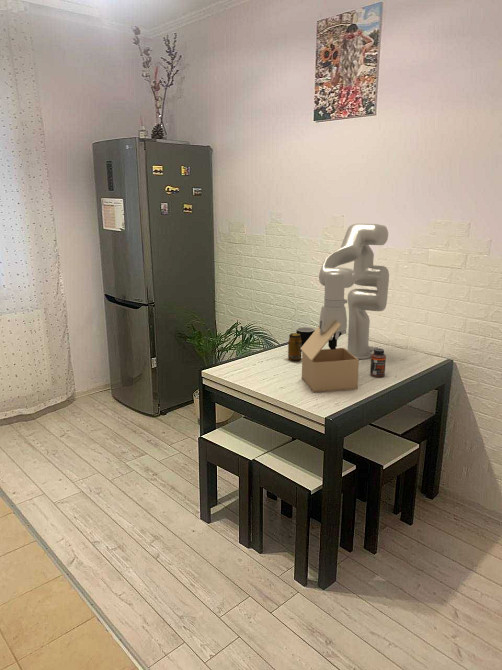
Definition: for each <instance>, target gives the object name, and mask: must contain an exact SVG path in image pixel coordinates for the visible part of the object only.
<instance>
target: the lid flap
mask: <svg viewBox="0 0 502 670" xmlns="http://www.w3.org/2000/svg"><path fill="white" fill-rule="evenodd" d="M340 326H341V324H340V323H338V322H337V321H336V322H335V323H334V324H333V325H332V326H331V327H330V329H329V330H328V331H327V332H326V333H325V332H324V333H323V334H322V335H320V329H319V325H318V326H317V327H316V328H315V331H314V332H313V334H312V335H311V336H310V337H309V339H308V340H307V341H306V342H305V343H304V345H303V346H302V347H301V348H300V349H301V350H302V351H303V352H304V353H305V354H306V355H307V356H308V357H309V358H310V359H311V360H313V359H314V358H315V357H316V355H317V354H318V353H319V352H320V350H321V349H324V348H325V346H326V344H327V343H328V341H329V340H330V338H331V337H332V338H333V335H334V334H335V332H336V331H337V330H338V329H339V327H340ZM302 351H301V352H302Z"/></svg>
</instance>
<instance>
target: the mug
mask: <svg viewBox="0 0 502 670" xmlns="http://www.w3.org/2000/svg"><path fill="white" fill-rule="evenodd" d="M315 330H316V328H313V327H309V326H300V327H297V328H296V331H295V333H298V334H300V335H301V341H302V346H303V345H304V343H305V342H306V341H307V340H308V339H309V337H310V336H311V335H312V334H313V332H314V331H315ZM302 346H301V347H302ZM301 352H302V350H301Z"/></svg>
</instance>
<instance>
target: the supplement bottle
mask: <svg viewBox="0 0 502 670" xmlns="http://www.w3.org/2000/svg"><path fill="white" fill-rule="evenodd" d="M386 360H387V356H386V354H385V349H384V348H379V347H378V348H376V349H374V351H373V352H372V353H371V357H370V371H369V373H370V376H372V377H375V378H382V377H384V376H385V373H386V362H387V361H386Z"/></svg>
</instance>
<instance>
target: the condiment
mask: <svg viewBox="0 0 502 670" xmlns="http://www.w3.org/2000/svg"><path fill="white" fill-rule="evenodd" d="M288 338H289V339H288V345H287V357H286V358H284V360H286V361H289V362H292V363H295V364H299V363H302V351H301V349H300V348H301V346H302V341H301V335H300V334H298V333H296V332H291V333H290V334H289V336H288Z"/></svg>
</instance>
